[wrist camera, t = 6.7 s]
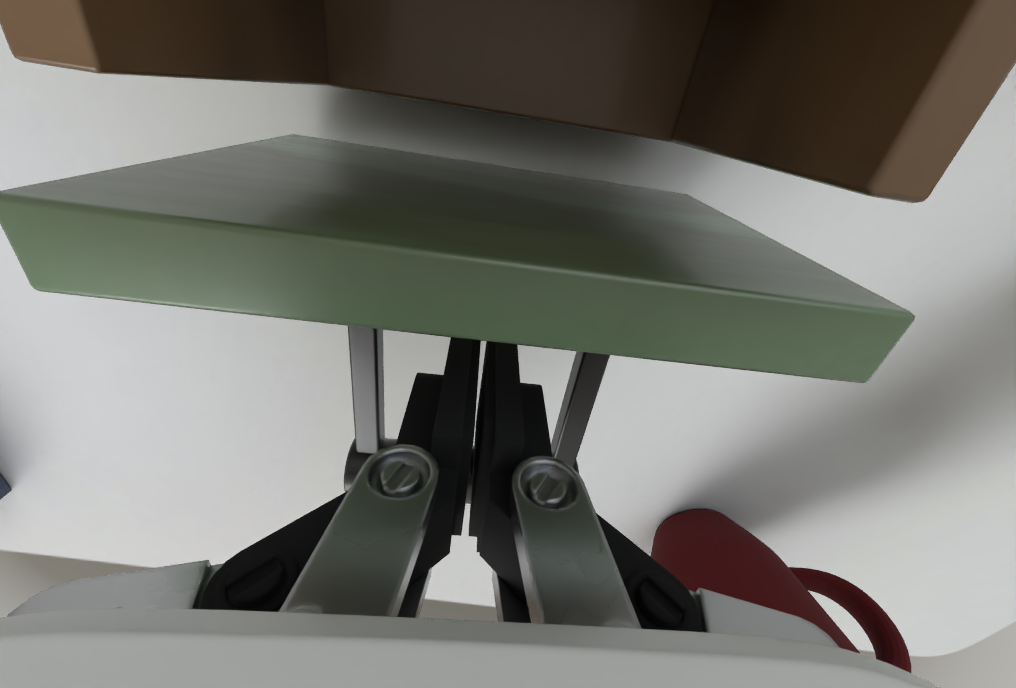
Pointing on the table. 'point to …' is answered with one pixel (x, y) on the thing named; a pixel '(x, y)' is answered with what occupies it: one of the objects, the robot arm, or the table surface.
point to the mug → (767, 579)
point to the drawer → (516, 175)
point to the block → (3, 488)
